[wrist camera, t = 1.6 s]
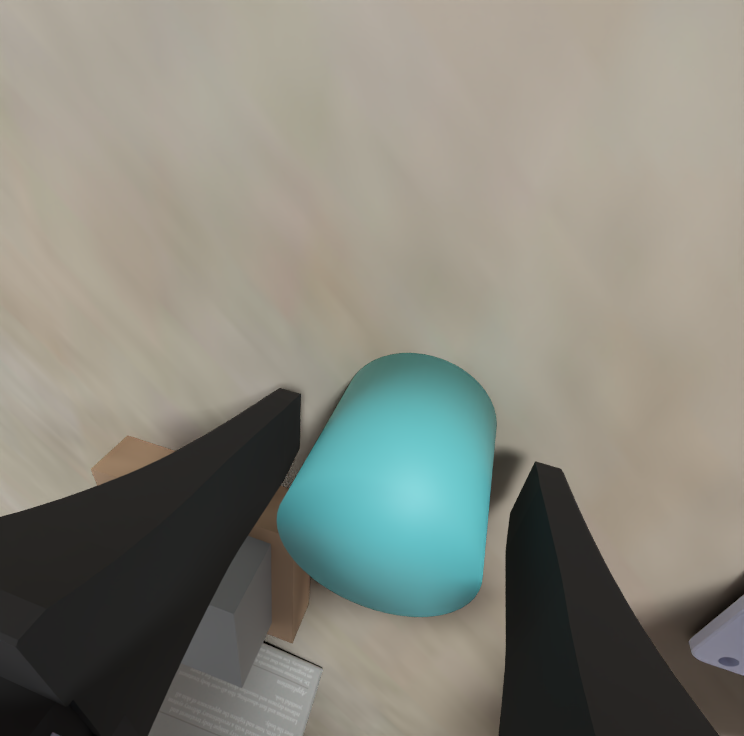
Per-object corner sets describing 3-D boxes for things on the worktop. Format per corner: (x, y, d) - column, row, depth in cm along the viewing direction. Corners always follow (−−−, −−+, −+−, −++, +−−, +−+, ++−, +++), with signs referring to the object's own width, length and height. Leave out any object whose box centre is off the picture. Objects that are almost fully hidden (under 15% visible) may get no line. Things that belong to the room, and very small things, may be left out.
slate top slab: (271, 543, 15) (233, 613, 13) (271, 622, 19) (242, 688, 17) (121, 490, 16) (65, 549, 14) (148, 575, 20) (106, 632, 18)
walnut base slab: (321, 482, 17) (293, 538, 15) (314, 590, 21) (292, 643, 19) (139, 424, 18) (90, 469, 16) (170, 537, 23) (135, 582, 21)
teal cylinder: (517, 377, 11) (511, 525, 7) (474, 490, 14) (454, 639, 10) (352, 334, 12) (274, 450, 8) (340, 449, 14) (277, 574, 11)
